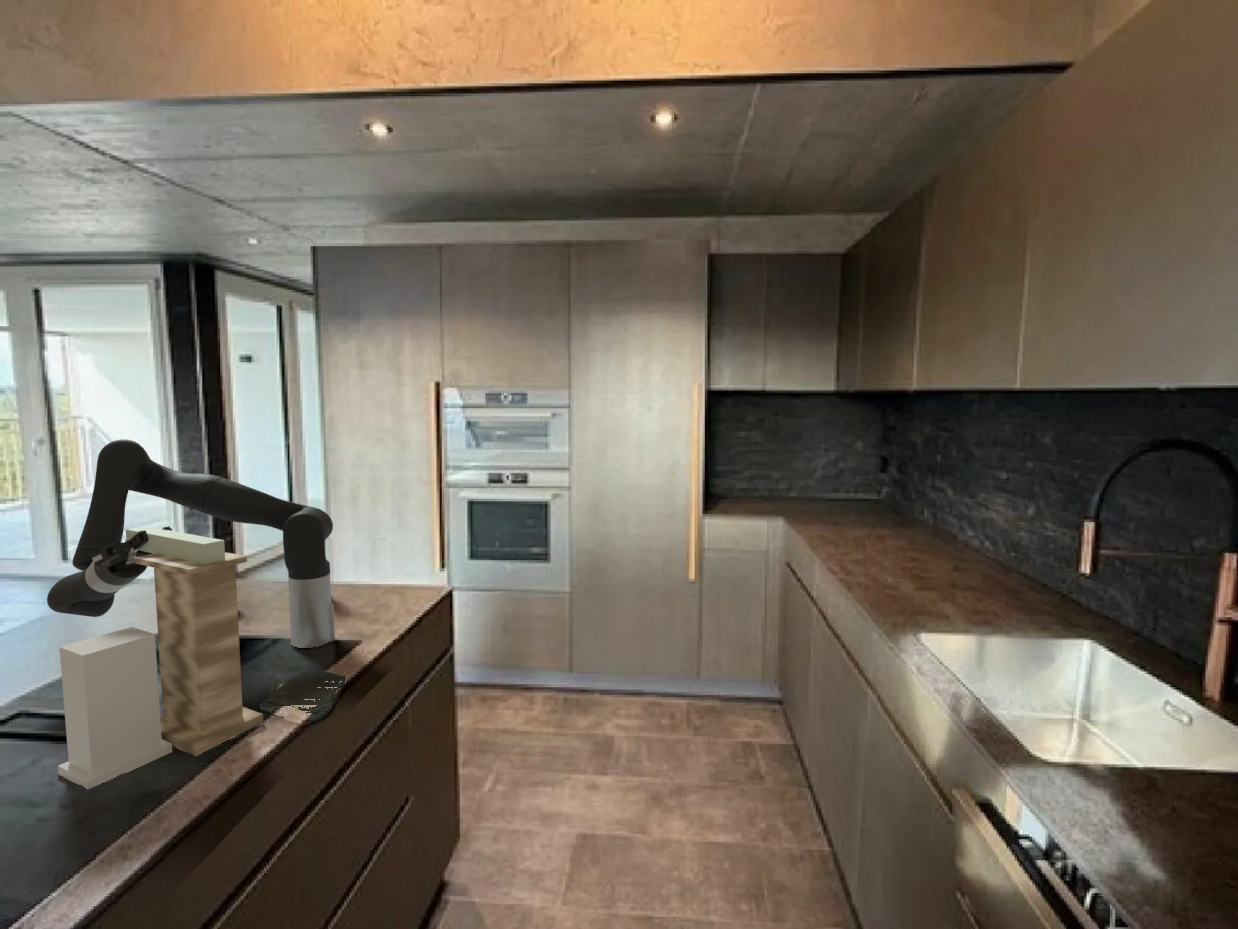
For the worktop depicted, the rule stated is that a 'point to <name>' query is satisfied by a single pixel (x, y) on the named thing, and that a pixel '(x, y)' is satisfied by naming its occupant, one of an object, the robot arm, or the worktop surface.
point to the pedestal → (111, 706)
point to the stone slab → (308, 692)
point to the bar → (181, 545)
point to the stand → (199, 652)
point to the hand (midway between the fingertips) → (157, 533)
